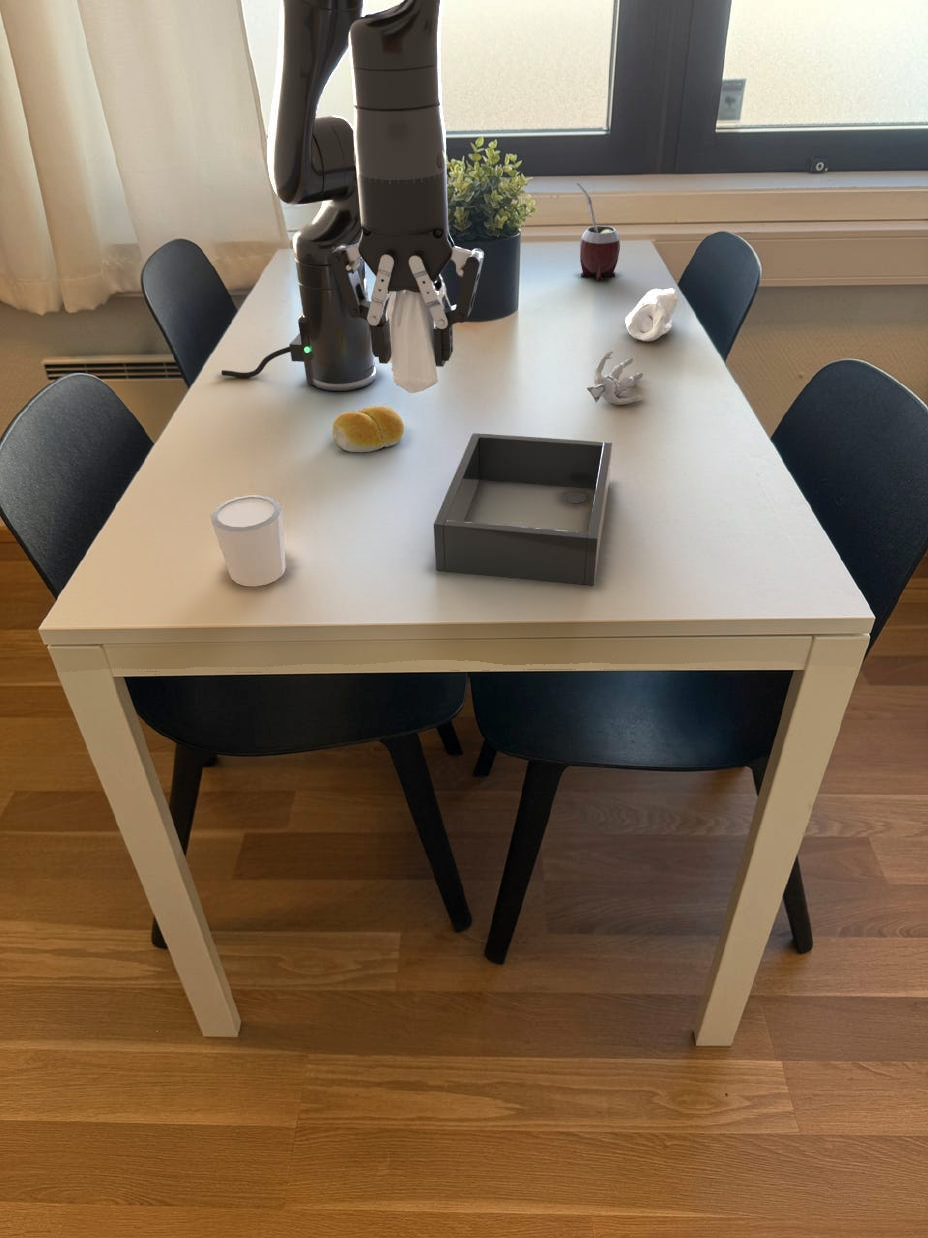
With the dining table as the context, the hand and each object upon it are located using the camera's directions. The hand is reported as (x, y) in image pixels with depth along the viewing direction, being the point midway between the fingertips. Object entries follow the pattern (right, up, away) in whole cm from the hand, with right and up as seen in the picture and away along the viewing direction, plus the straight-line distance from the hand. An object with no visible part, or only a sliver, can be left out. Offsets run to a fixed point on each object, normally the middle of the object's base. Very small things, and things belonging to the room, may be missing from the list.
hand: (412, 361), depth 84 cm
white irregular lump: (+34, +21, +56) cm, 69 cm away
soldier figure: (+26, +6, +38) cm, 46 cm away
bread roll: (-7, -2, +29) cm, 30 cm away
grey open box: (+12, -14, +12) cm, 22 cm away
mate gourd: (+29, +39, +79) cm, 93 cm away
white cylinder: (-16, -20, +7) cm, 26 cm away
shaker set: (0, 0, +4) cm, 4 cm away
